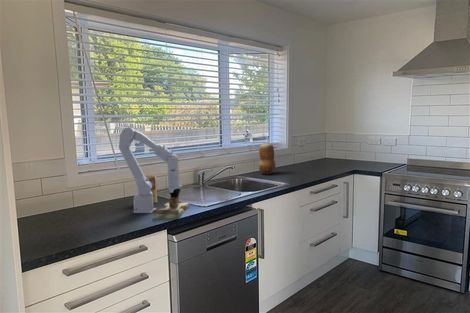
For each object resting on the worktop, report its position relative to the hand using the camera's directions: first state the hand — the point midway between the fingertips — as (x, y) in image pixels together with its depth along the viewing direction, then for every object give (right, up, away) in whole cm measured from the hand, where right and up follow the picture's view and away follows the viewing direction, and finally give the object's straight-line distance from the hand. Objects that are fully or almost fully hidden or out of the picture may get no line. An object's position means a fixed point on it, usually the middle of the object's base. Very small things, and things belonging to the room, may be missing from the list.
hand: (175, 203), depth 182 cm
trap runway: (-1, -4, -4) cm, 6 cm away
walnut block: (0, -1, -2) cm, 2 cm away
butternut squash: (+57, +10, +100) cm, 116 cm away
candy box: (-18, -2, +16) cm, 24 cm away
